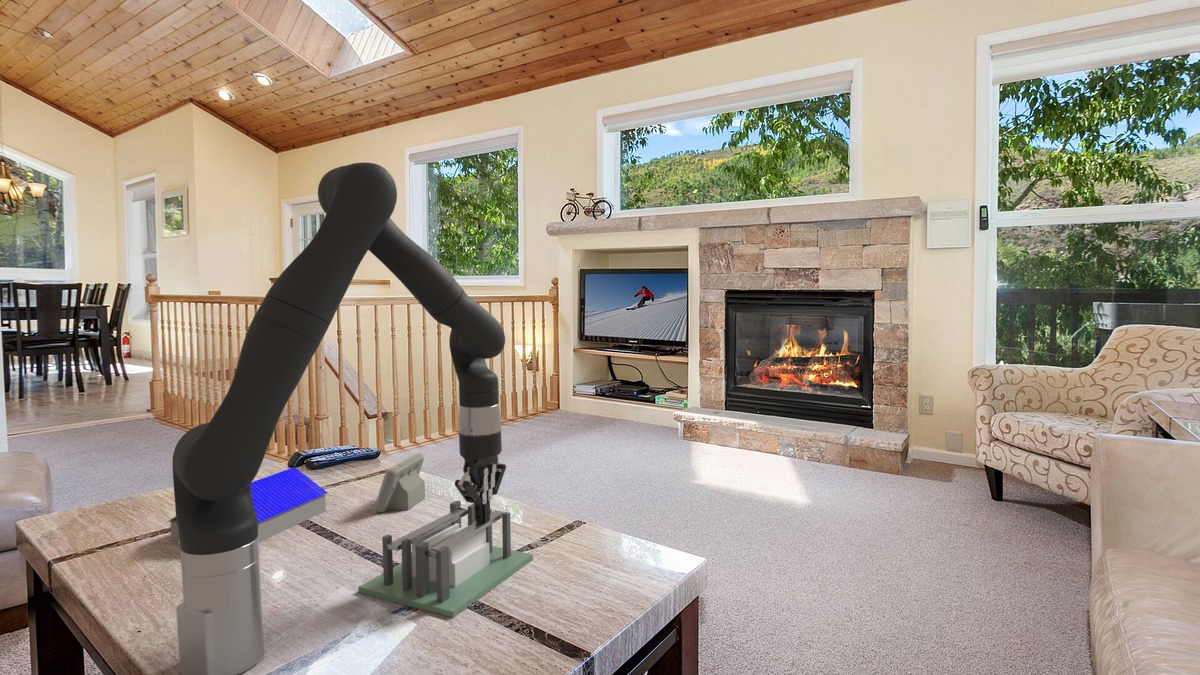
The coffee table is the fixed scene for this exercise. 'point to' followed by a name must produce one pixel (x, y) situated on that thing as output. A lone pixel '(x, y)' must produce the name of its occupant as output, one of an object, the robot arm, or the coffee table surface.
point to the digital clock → (402, 485)
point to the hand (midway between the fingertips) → (482, 521)
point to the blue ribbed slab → (280, 503)
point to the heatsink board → (447, 568)
